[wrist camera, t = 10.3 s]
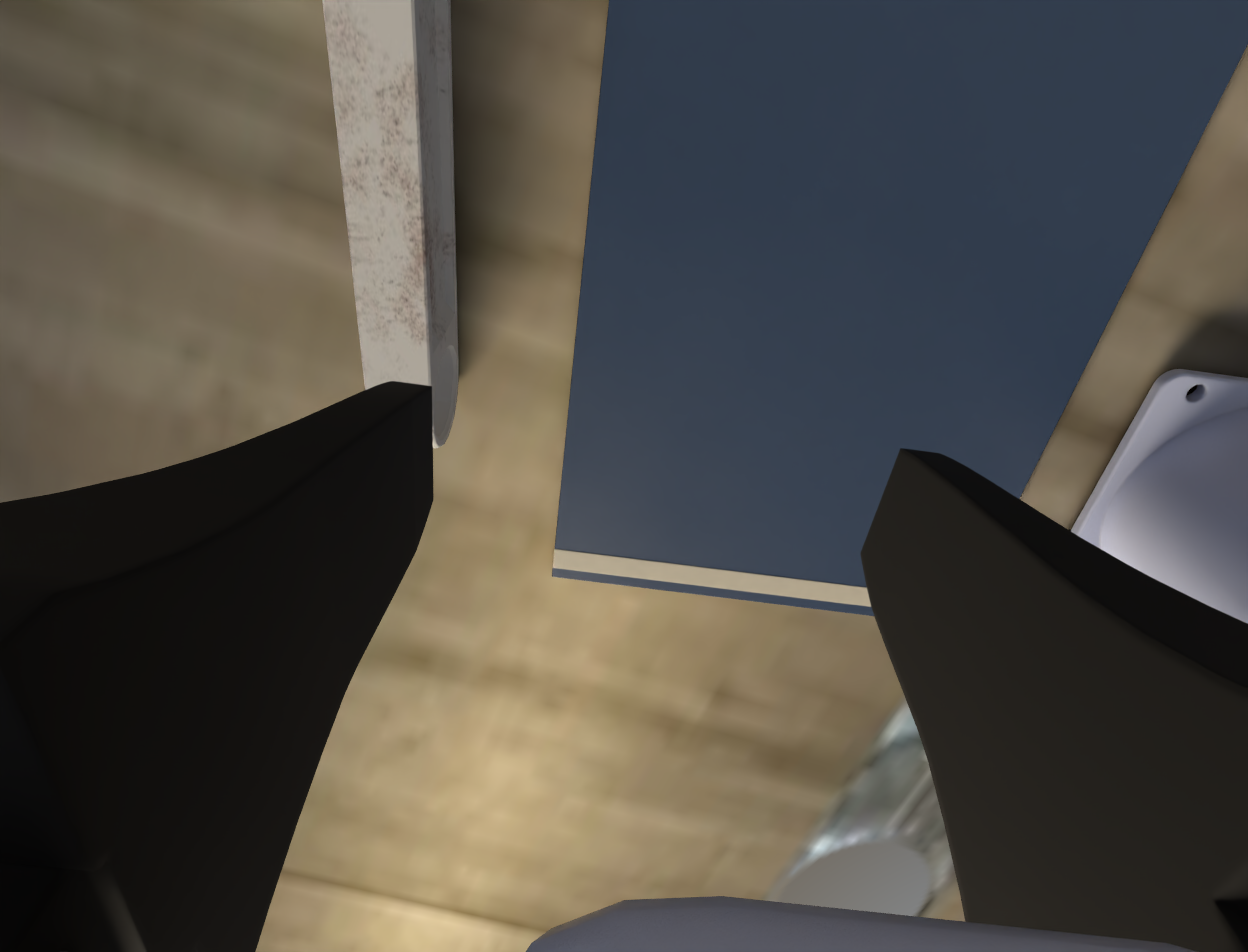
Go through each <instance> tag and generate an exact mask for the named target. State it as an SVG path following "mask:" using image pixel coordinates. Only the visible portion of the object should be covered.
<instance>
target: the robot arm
mask: <svg viewBox="0 0 1248 952" xmlns="http://www.w3.org/2000/svg"><path fill="white" fill-rule="evenodd" d="M1195 385H1198V386H1197V389H1196V390H1195V391H1194V392H1193V393H1191V394H1189V395H1187V392H1188V391H1189V389H1190V388H1191V387H1193V386H1195ZM1186 395H1187V396H1186ZM432 502H433V427H432V386H427V385H420V384H412V383H405V382H397V381H389V382H385V383H382V384H379V385H377V386H374V387H372V388H369V389H367V390H365V391H362V392H360V393H358V394H355V395H353V396H351V397H349V398H347V399H344V400H342V401H340V402H338V403H335V404H333V405H331V406H329V407H327V408H324V409H322V410H320V411H318V412H315V413H313V414H311V415H309V416H306V417H304V418H302V419H300V420H297V421H295V422H293V423H290V424H288V425H285V426H283V427H280V428H278V429H275V430H272V431H270V432H267V433H265V434H262V435H260V436H257V437H255V438H252V439H250V440H247V441H245V442H242V443H240V444H237V445H235V446H232V447H229V448H226V449H223V450H220V451H217V452H214V453H211V454H208V455H205V456H202V457H199V458H196V459H193V460H189V461H186V462H182V463H179V464H176V465H172V466H169V467H165V468H162V469H159V470H155V471H151V472H147V473H144V474H140V475H135V476H131V477H126V478H122V479H117V480H113V481H108V482H104V483H99V484H95V485H91V486H86V487H82V488H77V489H73V490H68V491H64V492H59V493H54V494H49V495H43V496H38V497H32V498H26V499H20V500H14V501H8V502H3V503H0V952H255V951H256V948H257V945H258V942H259V938H260V935H261V932H262V929H263V925H264V922H265V919H266V916H267V913H268V909H269V906H270V903H271V900H272V897H273V894H274V891H275V888H276V885H277V882H278V879H279V876H280V873H281V870H282V867H283V864H284V861H285V858H286V855H287V852H288V849H289V846H290V843H291V840H292V837H293V834H294V831H295V828H296V825H297V822H298V819H299V817H300V814H301V811H302V808H303V805H304V803H305V800H306V797H307V794H308V791H309V789H310V786H311V783H312V780H313V777H314V775H315V772H316V769H317V766H318V763H319V761H320V758H321V755H322V752H323V750H324V747H325V744H326V742H327V739H328V737H329V734H330V731H331V729H332V726H333V723H334V721H335V718H336V716H337V713H338V710H339V708H340V705H341V702H342V700H343V697H344V695H345V692H346V690H347V688H348V685H349V683H350V681H351V679H352V677H353V675H354V672H355V670H356V668H357V666H358V664H359V662H360V660H361V658H362V656H363V654H364V652H365V650H366V648H367V646H368V644H369V642H370V641H371V639H372V637H373V635H374V633H375V631H376V629H377V627H378V625H379V623H380V621H381V619H382V617H383V615H384V613H385V612H386V610H387V608H388V606H389V604H390V602H391V600H392V598H393V596H394V594H395V592H396V590H397V588H398V586H399V584H400V582H401V580H402V578H403V576H404V574H405V572H406V570H407V569H408V567H409V565H410V563H411V561H412V558H413V556H414V554H415V552H416V550H417V547H418V544H419V541H420V539H421V536H422V533H423V530H424V527H425V524H426V521H427V518H428V515H429V512H430V509H431V505H432ZM860 555H861V560H862V565H863V571H864V576H865V582H866V586H867V591H868V595H869V599H870V604H871V608H872V611H873V613H874V616H875V619H876V622H877V624H878V627H879V630H880V633H881V635H882V638H883V641H884V643H885V646H886V649H887V651H888V654H889V656H890V659H891V662H892V664H893V667H894V669H895V672H896V675H897V677H898V680H899V682H900V685H901V688H902V690H903V693H904V695H905V698H906V700H907V703H908V706H909V708H910V711H911V713H912V716H913V719H914V721H915V724H916V726H917V729H918V732H919V735H920V738H921V741H922V744H923V747H924V750H925V753H926V756H927V759H928V762H929V766H930V770H931V774H932V778H933V782H934V786H935V789H936V793H937V797H938V801H939V805H940V809H941V813H942V816H943V820H944V824H945V829H946V833H947V838H948V842H949V846H950V851H951V855H952V860H953V864H954V869H955V873H956V877H957V882H958V886H959V891H960V895H961V901H962V906H963V911H964V916H965V921H966V922H962V921H952V920H943V919H933V918H924V917H914V916H905V915H895V914H886V913H877V912H867V911H857V910H848V909H838V908H829V907H819V906H810V905H800V904H791V903H782V902H772V901H763V900H753V899H744V898H734V897H725V896H716V897H691V898H665V899H640V900H624V901H621V902H618V903H616V904H613V905H611V906H608V907H606V908H603V909H600V910H598V911H595V912H593V913H590V914H587V915H585V916H582V917H580V918H577V919H575V920H572V921H569V922H567V923H564V924H562V925H559V926H556V927H554V928H551V929H550V930H548V931H547V932H546V933H545V934H543V935H542V936H541V937H539V938H538V939H537V940H535V941H534V942H533V943H531V945H530V946H529V948H528V949H527V951H526V952H1248V378H1243V377H1236V376H1229V375H1221V374H1214V373H1207V372H1200V371H1193V370H1185V369H1173V370H1170V371H1167V372H1165V373H1164V374H1162V375H1161V376H1159V377H1158V379H1157V380H1156V381H1155V382H1154V384H1153V385H1152V387H1151V389H1150V391H1149V393H1148V394H1147V396H1146V398H1145V400H1144V401H1143V403H1142V405H1141V407H1140V409H1139V410H1138V412H1137V414H1136V416H1135V417H1134V419H1133V421H1132V423H1131V424H1130V426H1129V428H1128V430H1127V432H1126V433H1125V435H1124V437H1123V439H1122V440H1121V442H1120V444H1119V446H1118V448H1117V449H1116V451H1115V453H1114V455H1113V456H1112V458H1111V460H1110V462H1109V464H1108V465H1107V467H1106V469H1105V471H1104V472H1103V474H1102V476H1101V478H1100V480H1099V481H1098V483H1097V485H1096V487H1095V488H1094V490H1093V492H1092V494H1091V495H1090V497H1089V499H1088V501H1087V503H1086V504H1085V506H1084V508H1083V510H1082V511H1081V513H1080V515H1079V517H1078V519H1077V520H1076V522H1075V524H1074V526H1073V527H1072V529H1071V531H1069V530H1068V529H1066V528H1064V527H1063V526H1061V525H1059V524H1058V523H1056V522H1055V521H1053V520H1051V519H1050V518H1048V517H1047V516H1045V515H1043V514H1042V513H1040V512H1039V511H1037V510H1036V509H1034V508H1032V507H1031V506H1029V505H1028V504H1026V503H1024V502H1023V501H1021V500H1020V499H1018V498H1017V497H1015V496H1014V495H1012V494H1010V493H1009V492H1007V491H1006V490H1004V489H1002V488H1001V487H999V486H998V485H996V484H995V483H993V482H991V481H990V480H988V479H987V478H985V477H983V476H982V475H980V474H978V473H977V472H975V471H973V470H972V469H970V468H968V467H967V466H965V465H963V464H961V463H959V462H957V461H955V460H954V459H952V458H949V457H947V456H945V455H943V454H940V453H935V452H927V451H920V450H912V449H905V448H900V451H899V453H898V456H897V458H896V461H895V464H894V466H893V469H892V472H891V474H890V477H889V479H888V482H887V485H886V487H885V490H884V492H883V495H882V498H881V500H880V503H879V506H878V508H877V511H876V513H875V516H874V519H873V521H872V524H871V527H870V529H869V532H868V534H867V537H866V540H865V542H864V545H863V548H862V550H861V553H860Z"/></svg>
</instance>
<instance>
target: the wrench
mask: <svg viewBox="0 0 1248 952" xmlns="http://www.w3.org/2000/svg"><path fill="white" fill-rule="evenodd" d="M322 1H323V11H324V20H325V29H326V38H327V47H328V56H329V65H330V74H331V83H332V92H333V101H334V110H335V120H336V129H337V138H338V147H339V156H340V165H341V174H342V183H343V192H344V201H345V210H346V219H347V229H348V238H349V247H350V256H351V265H352V274H353V283H354V292H355V301H356V310H357V319H358V328H359V338H360V347H361V356H362V365H363V374H364V383H365V390H367V389H369V388H372V387H374V386H377V385H379V384H382V383H385V382H389V381H397V382H405V383H412V384H420V385H427V386H432V427H433V448H439V447H440V446H442V445H443V444H444V443H445V442H446V440H447V438H448V436H449V433H450V430H451V427H452V423H453V419H454V415H455V409H456V402H457V394H458V380H459V360H458V328H457V278H456V238H455V197H454V151H453V102H452V53H451V4H450V0H322Z"/></svg>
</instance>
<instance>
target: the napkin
mask: <svg viewBox="0 0 1248 952" xmlns="http://www.w3.org/2000/svg"><path fill="white" fill-rule="evenodd" d="M1247 45H1248V0H609V7H608V17H607V27H606V37H605V47H604V58H603V68H602V78H601V88H600V98H599V108H598V118H597V128H596V138H595V148H594V158H593V168H592V178H591V188H590V198H589V208H588V218H587V229H586V239H585V249H584V259H583V269H582V279H581V289H580V299H579V309H578V319H577V329H576V339H575V349H574V359H573V369H572V379H571V389H570V399H569V410H568V420H567V430H566V440H565V450H564V460H563V470H562V480H561V490H560V500H559V510H558V520H557V530H556V540H555V550H554V560H553V570H552V577H559V578H567V579H575V580H584V581H592V582H600V583H608V584H616V585H625V586H633V587H641V588H649V589H657V590H665V591H674V592H682V593H690V594H698V595H706V596H714V597H723V598H731V599H739V600H747V601H755V602H764V603H772V604H780V605H788V606H796V607H804V608H813V609H821V610H829V611H837V612H845V613H854V614H862V615H870V616H874V613H873V611H872V608H871V604H870V599H869V595H868V591H867V586H866V582H865V576H864V571H863V565H862V560H861V555H860V553H861V550H862V548H863V545H864V542H865V540H866V537H867V534H868V532H869V529H870V527H871V524H872V521H873V519H874V516H875V513H876V511H877V508H878V506H879V503H880V500H881V498H882V495H883V492H884V490H885V487H886V485H887V482H888V479H889V477H890V474H891V472H892V469H893V466H894V464H895V461H896V458H897V456H898V453H899V451H900V448H905V449H912V450H920V451H927V452H935V453H940V454H943V455H945V456H947V457H949V458H952V459H954V460H955V461H957V462H959V463H961V464H963V465H965V466H967V467H968V468H970V469H972V470H973V471H975V472H977V473H978V474H980V475H982V476H983V477H985V478H987V479H988V480H990V481H991V482H993V483H995V484H996V485H998V486H999V487H1001V488H1002V489H1004V490H1006V491H1007V492H1009V493H1010V494H1012V495H1014V496H1015V497H1017V498H1018V499H1019V498H1020V496H1021V494H1022V492H1023V490H1024V488H1025V486H1026V484H1027V482H1028V480H1029V478H1030V476H1031V474H1032V472H1033V470H1034V468H1035V466H1036V464H1037V462H1038V460H1039V458H1040V456H1041V454H1042V453H1043V451H1044V449H1045V447H1046V445H1047V443H1048V441H1049V439H1050V437H1051V435H1052V433H1053V431H1054V429H1055V427H1056V425H1057V423H1058V421H1059V419H1060V417H1061V415H1062V413H1063V411H1064V409H1065V407H1066V405H1067V403H1068V401H1069V399H1070V397H1071V395H1072V393H1073V391H1074V389H1075V387H1076V385H1077V383H1078V381H1079V379H1080V377H1081V375H1082V373H1083V371H1084V369H1085V367H1086V365H1087V363H1088V361H1089V359H1090V357H1091V355H1092V353H1093V351H1094V349H1095V347H1096V345H1097V343H1098V341H1099V339H1100V337H1101V335H1102V333H1103V331H1104V329H1105V327H1106V325H1107V323H1108V321H1109V319H1110V317H1111V315H1112V313H1113V311H1114V309H1115V307H1116V305H1117V303H1118V301H1119V299H1120V297H1121V295H1122V293H1123V291H1124V289H1125V287H1126V285H1127V283H1128V281H1129V279H1130V277H1131V275H1132V273H1133V271H1134V269H1135V267H1136V265H1137V264H1138V262H1139V260H1140V258H1141V256H1142V254H1143V252H1144V250H1145V248H1146V246H1147V244H1148V242H1149V240H1150V238H1151V236H1152V234H1153V232H1154V230H1155V228H1156V226H1157V224H1158V222H1159V220H1160V218H1161V216H1162V214H1163V212H1164V210H1165V208H1166V206H1167V204H1168V202H1169V200H1170V198H1171V196H1172V194H1173V192H1174V190H1175V188H1176V186H1177V184H1178V182H1179V180H1180V178H1181V176H1182V174H1183V172H1184V170H1185V168H1186V166H1187V164H1188V162H1189V160H1190V158H1191V156H1192V154H1193V152H1194V150H1195V148H1196V146H1197V144H1198V142H1199V140H1200V138H1201V136H1202V134H1203V132H1204V130H1205V128H1206V126H1207V124H1208V122H1209V120H1210V118H1211V116H1212V114H1213V112H1214V110H1215V108H1216V106H1217V104H1218V102H1219V100H1220V98H1221V96H1222V94H1223V92H1224V90H1225V88H1226V86H1227V84H1228V82H1229V80H1230V78H1231V76H1232V75H1233V73H1234V71H1235V69H1236V67H1237V65H1238V63H1239V61H1240V59H1241V57H1242V55H1243V53H1244V51H1245V49H1246V47H1247Z"/></svg>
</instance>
